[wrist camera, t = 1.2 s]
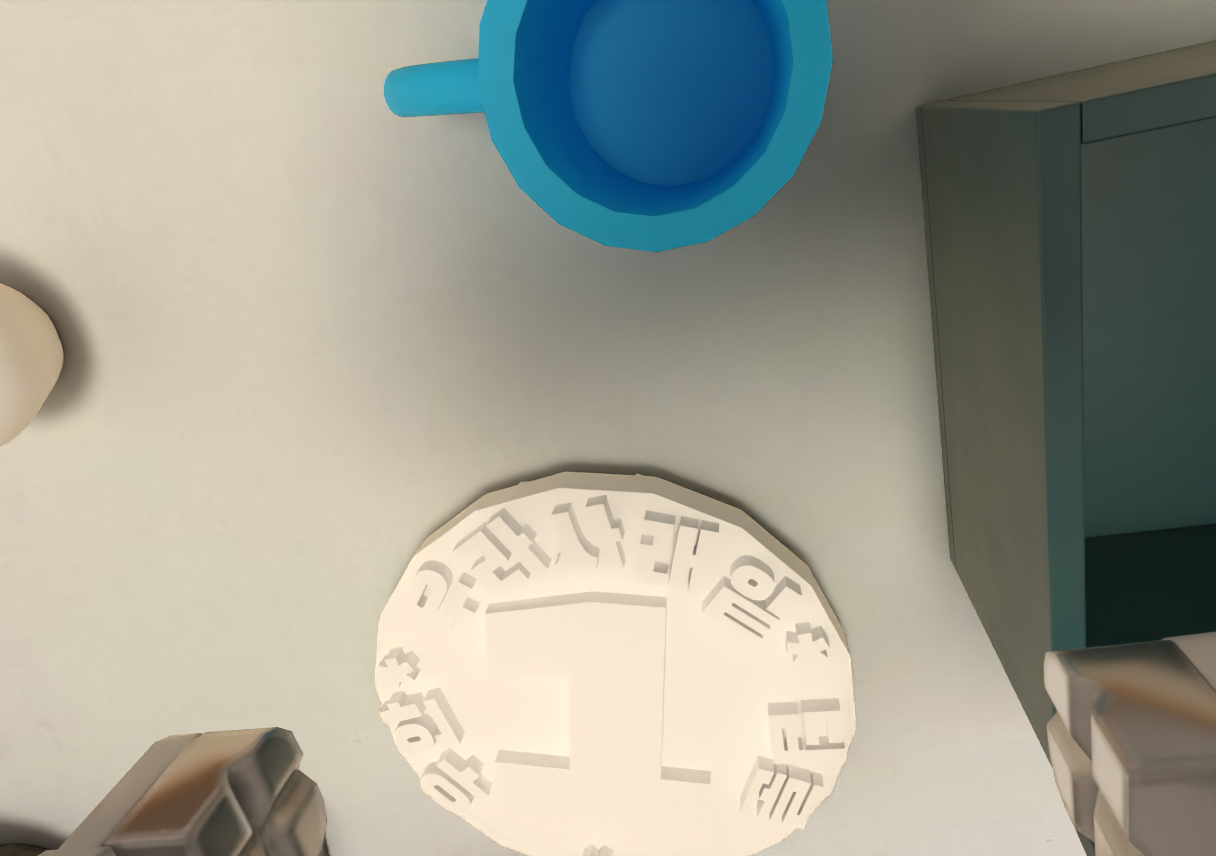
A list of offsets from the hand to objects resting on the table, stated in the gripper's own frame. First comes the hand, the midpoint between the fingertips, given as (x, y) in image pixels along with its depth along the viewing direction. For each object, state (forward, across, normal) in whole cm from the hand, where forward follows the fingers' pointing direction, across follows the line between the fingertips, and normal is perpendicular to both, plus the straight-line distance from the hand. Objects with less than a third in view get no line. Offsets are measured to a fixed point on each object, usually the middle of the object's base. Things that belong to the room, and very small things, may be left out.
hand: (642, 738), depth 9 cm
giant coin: (+22, +7, +16) cm, 28 cm away
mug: (+22, +1, -8) cm, 23 cm away
